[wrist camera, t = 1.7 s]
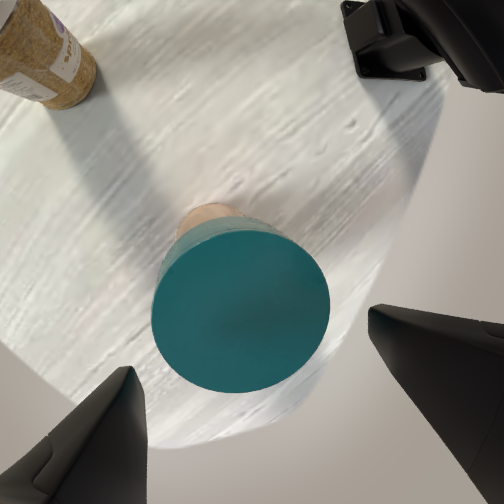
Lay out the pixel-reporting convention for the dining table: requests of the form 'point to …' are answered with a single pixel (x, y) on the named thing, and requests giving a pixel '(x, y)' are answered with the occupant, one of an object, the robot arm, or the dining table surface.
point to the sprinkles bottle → (42, 56)
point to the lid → (238, 306)
